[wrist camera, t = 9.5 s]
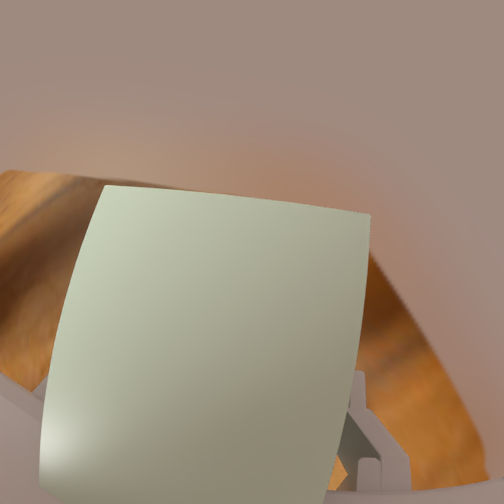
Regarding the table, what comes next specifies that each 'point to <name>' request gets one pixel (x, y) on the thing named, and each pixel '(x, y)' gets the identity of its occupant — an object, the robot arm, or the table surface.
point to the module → (204, 351)
